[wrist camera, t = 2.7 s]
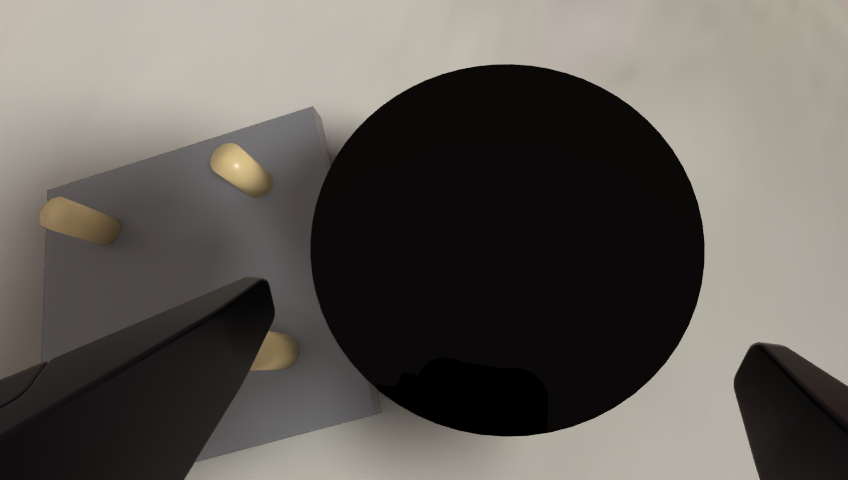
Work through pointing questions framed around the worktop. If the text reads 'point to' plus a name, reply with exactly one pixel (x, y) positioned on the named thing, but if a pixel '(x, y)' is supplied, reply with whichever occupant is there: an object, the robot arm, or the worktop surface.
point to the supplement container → (507, 250)
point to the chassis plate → (209, 267)
